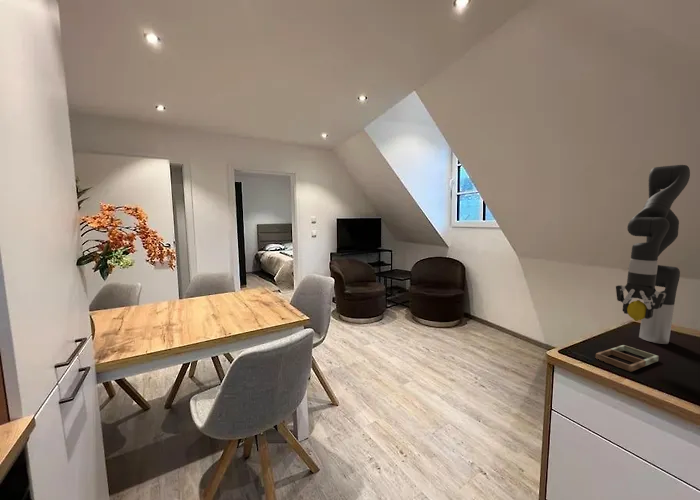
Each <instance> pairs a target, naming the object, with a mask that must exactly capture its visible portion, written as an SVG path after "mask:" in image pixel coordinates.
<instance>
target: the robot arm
mask: <svg viewBox="0 0 700 500" xmlns="http://www.w3.org/2000/svg"><path fill="white" fill-rule="evenodd" d="M690 176H691V170H690V167H689V166H688V165H686V164H675V165H663V166H655V167H652V168H651V169H650V171H649V175H648V198H647V200H646V201H645V203H644V205H643V208H642V209H641V210H640V211H638V213H636V214H635V215H634V216H633V217H632V218H630V220H629V221H628V224H627V228H626V229H627V232H628V234H630V235H631V236H634V237H644V238H646V239H645V240H646V242H637V243H634V244H632V246H631V252H630V253H631V254H630V261H629V264H628V267H627V269H628V272H627V279H626V284H625V285H622V284H620V285H619V284H617V285H615V293H616V300H617V302H620V303H622V312H623V313H624V314H626V315H628V312H627V308H628V305H629V304H630V303H631V302H632V300H633V299H639V300H642V302H643V303H644V304H645V305H646V306H647V309H646V315H645V318H644V319H641V320H640V327H639V328H640V329H639V334H638V338H640V339H641V340H644V341H647V342H651V343H654V344H662V345H668V344H670V343H669V342H670V337H671V330H672V323H673V322H672V321H673V317H674V309H675V302H676V296H677V291H678V287H679V282H680V277H681V271H680V269H679V268H678V267H677V266H669V265H659V264H658V259H659V256H660V255H661V254H662V253H663V252H664V251H665V250H666V249H667V248H668V247H670V245H672V244H673V243H674V242H675V241H676V239H677V238H678V235H679V225H680V220H679V218H678V216H677V215H676V214H675V213H674V212H673V210H672V209H671V208H672V205H673V203H674V202H675V201H676V199H678V197H679V195H681V193H682V192H683V191H684V189H685V188H686V187H687V185H688V183H689V181H690V178H691V177H690ZM656 287H661V288H665V289H664V290H662V291H657V290H656ZM625 290H626V291H627V294H626V296H625V294H624V293H625V292H624V291H625Z"/></svg>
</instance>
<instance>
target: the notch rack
mask: <svg viewBox="0 0 700 500" xmlns="http://www.w3.org/2000/svg"><path fill="white" fill-rule="evenodd" d="M624 352H626V353H624ZM627 353H631V354H633V355H636V356H640V357H643V358H644V359H642V358H640V357H636V356H633V355H630V354H627ZM609 356H614V357H617V358H618V359H619V358H620V359H622V360H625V361H628V362H631V364H630V363H629V364H628V363H626V362H623V361H619V360H618V359H615V358H612V357H609ZM595 358H596V360H598V359H599V360H598V361H601V362H603V361H604V363H606V364H609V365H612V366H614V367H616V368H620V369H622V370H625V371H628V372H630V373H632V372H634V371H637V370H639V369H641V368H644V367H647V366H649V365H651V364H654V363H657V362H659V358H660V356H659V355H657V354H654V353H650V352H649V351H648V352H647V351H644V350H641V349H638V348H636V347H632V346H628V345H625V344H622V345H618V346H616V347H612V348H609V349H606V350H602V351H598V352H596V353H595Z"/></svg>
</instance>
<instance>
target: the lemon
mask: <svg viewBox="0 0 700 500" xmlns="http://www.w3.org/2000/svg"><path fill="white" fill-rule="evenodd" d="M646 309H647V306H646V305H645V304H644V301H641V299H639V300H633V301H630V303H629V305H628V308H627V312H628V314H627V315H628V316H629V317H630V318H631V319H633V320H634V321H636V322H638V321H639V320H640V321H641V319H644V318H645V315H646Z"/></svg>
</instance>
